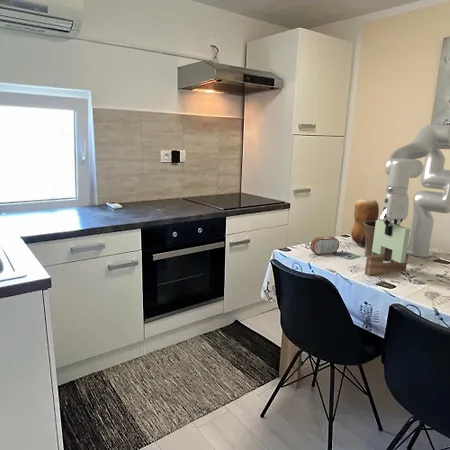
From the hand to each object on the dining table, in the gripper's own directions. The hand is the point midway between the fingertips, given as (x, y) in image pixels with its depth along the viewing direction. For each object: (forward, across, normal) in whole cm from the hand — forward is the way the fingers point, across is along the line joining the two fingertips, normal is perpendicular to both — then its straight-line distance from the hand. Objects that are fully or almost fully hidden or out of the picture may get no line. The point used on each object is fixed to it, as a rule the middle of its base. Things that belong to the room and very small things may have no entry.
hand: (390, 234), depth 154 cm
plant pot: (+17, +13, +18) cm, 28 cm away
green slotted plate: (+10, 0, 0) cm, 10 cm away
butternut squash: (+17, +19, +36) cm, 44 cm away
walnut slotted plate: (+17, 0, 0) cm, 17 cm away
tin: (+17, -10, +30) cm, 36 cm away
